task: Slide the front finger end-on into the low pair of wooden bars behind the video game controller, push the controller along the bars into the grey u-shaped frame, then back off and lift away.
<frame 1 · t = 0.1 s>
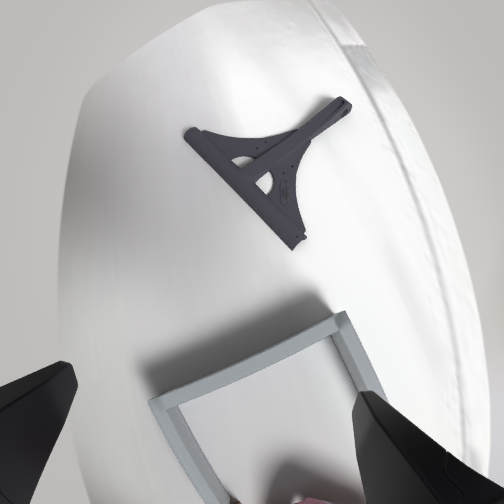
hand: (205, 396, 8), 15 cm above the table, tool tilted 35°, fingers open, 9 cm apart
grey u-shaped frame: (276, 417, 22), on the table
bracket: (295, 149, 29), on the table
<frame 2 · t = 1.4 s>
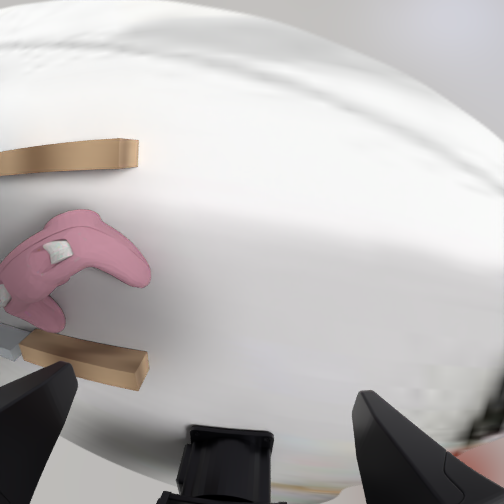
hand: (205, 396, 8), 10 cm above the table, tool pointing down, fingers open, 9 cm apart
video game controller: (83, 265, 19), on the table
pair of wooden bars: (72, 262, 18), on the table
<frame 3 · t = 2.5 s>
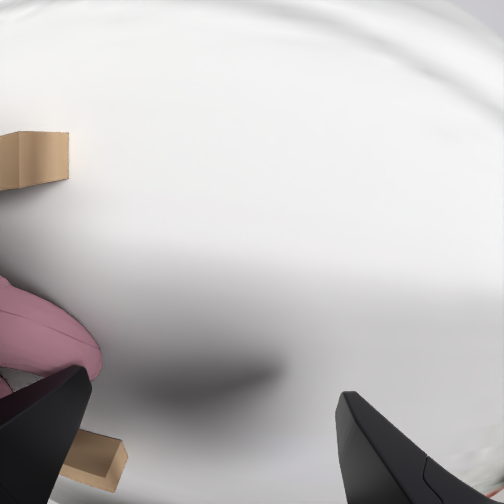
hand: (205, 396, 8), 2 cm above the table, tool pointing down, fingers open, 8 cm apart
video game controller: (17, 331, 11), on the table, touching gripper
pair of wooden bars: (4, 322, 11), on the table
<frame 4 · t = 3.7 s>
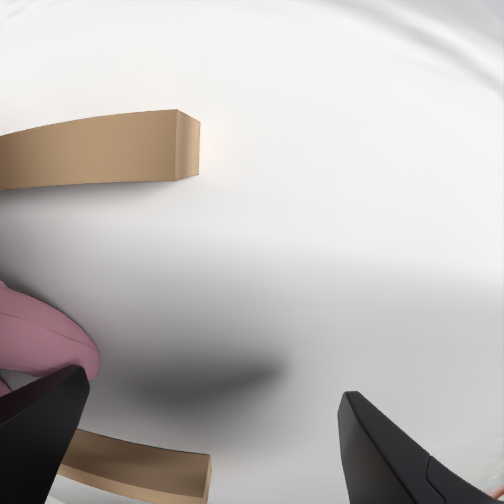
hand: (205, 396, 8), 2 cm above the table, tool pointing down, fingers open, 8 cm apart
video game controller: (16, 335, 11), on the table, touching gripper
pair of wooden bars: (77, 339, 10), on the table
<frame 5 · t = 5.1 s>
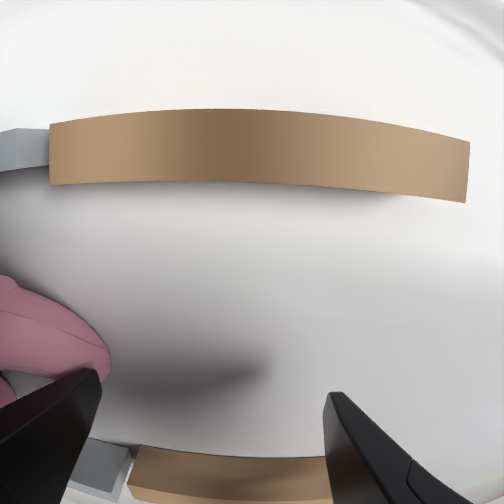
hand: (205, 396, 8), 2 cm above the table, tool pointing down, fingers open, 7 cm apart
grey u-shaped frame: (4, 322, 11), on the table
video game controller: (21, 332, 11), on the table, touching grey u-shaped frame, gripper
pair of wooden bars: (250, 358, 10), on the table
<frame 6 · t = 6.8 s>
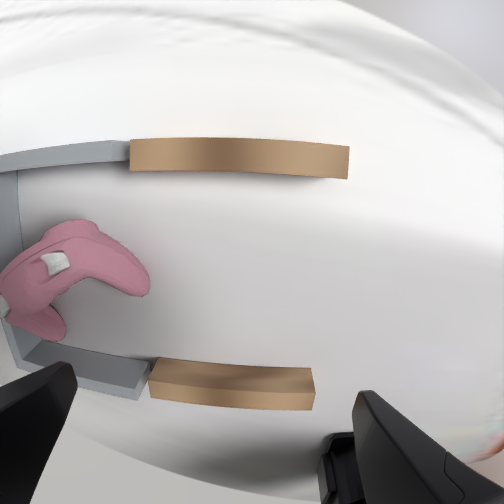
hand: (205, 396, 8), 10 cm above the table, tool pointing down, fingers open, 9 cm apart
grey u-shaped frame: (68, 266, 18), on the table
video game controller: (82, 274, 18), on the table
pair of wooden bars: (235, 279, 18), on the table
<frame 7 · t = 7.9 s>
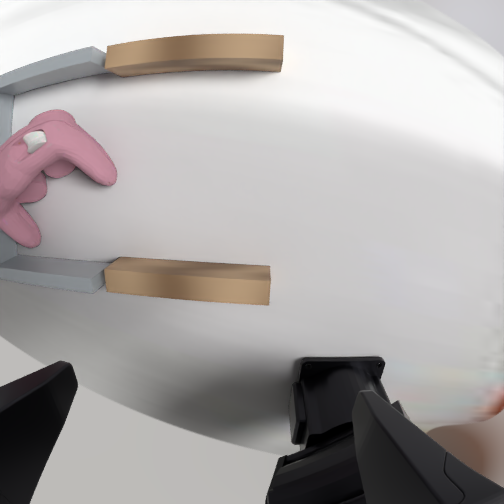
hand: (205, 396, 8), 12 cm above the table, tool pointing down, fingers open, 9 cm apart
grey u-shaped frame: (47, 171, 18), on the table
video game controller: (60, 180, 19), on the table
pair of wooden bars: (191, 165, 18), on the table
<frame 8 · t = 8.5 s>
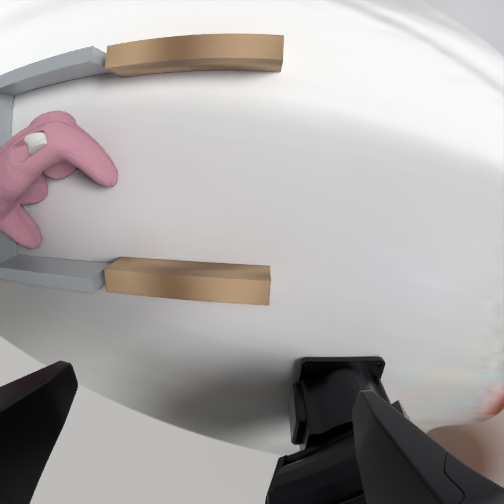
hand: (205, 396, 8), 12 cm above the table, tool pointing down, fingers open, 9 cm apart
grey u-shaped frame: (47, 171, 18), on the table
video game controller: (61, 181, 19), on the table
pair of wooden bars: (191, 165, 18), on the table
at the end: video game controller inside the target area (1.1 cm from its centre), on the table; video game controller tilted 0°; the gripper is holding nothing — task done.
